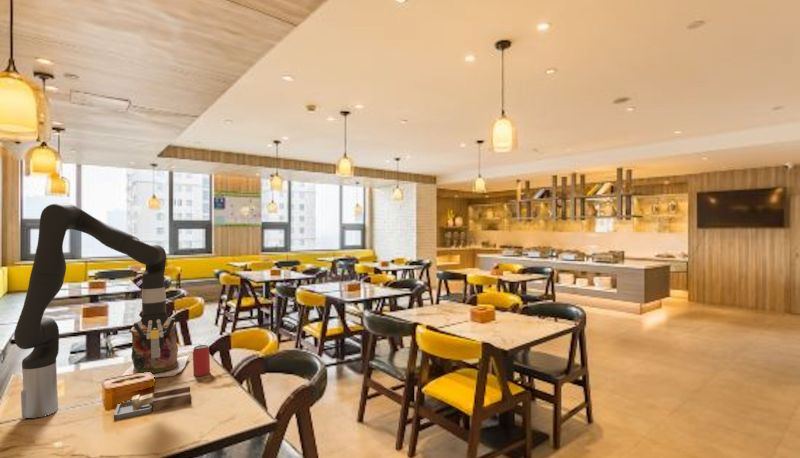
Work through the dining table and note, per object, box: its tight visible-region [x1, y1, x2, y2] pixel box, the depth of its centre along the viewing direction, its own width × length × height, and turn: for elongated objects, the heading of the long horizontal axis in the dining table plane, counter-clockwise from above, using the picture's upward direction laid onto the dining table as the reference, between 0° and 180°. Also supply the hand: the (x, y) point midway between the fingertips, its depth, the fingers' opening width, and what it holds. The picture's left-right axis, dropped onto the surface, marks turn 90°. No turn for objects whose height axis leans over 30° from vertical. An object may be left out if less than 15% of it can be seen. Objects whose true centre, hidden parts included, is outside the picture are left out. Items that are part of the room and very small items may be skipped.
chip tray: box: [113, 400, 153, 421], centre depth 151 cm, size 11×12×2 cm
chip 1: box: [131, 394, 141, 411], centre depth 151 cm, size 4×4×2 cm
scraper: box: [150, 328, 160, 359], centre depth 154 cm, size 3×4×10 cm, turn 27°
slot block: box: [152, 385, 192, 412], centre depth 157 cm, size 12×9×4 cm
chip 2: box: [139, 392, 154, 406], centre depth 153 cm, size 4×4×2 cm
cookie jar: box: [121, 310, 190, 379], centre depth 193 cm, size 25×25×32 cm
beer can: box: [192, 344, 211, 377], centre depth 186 cm, size 7×7×12 cm
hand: (155, 347), depth 154 cm, fingers closed on scraper, 2 cm apart
